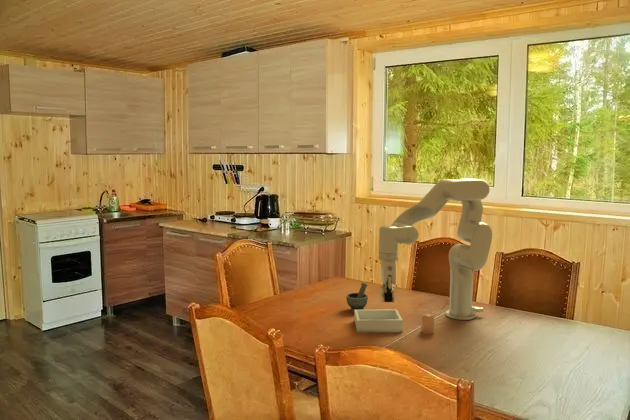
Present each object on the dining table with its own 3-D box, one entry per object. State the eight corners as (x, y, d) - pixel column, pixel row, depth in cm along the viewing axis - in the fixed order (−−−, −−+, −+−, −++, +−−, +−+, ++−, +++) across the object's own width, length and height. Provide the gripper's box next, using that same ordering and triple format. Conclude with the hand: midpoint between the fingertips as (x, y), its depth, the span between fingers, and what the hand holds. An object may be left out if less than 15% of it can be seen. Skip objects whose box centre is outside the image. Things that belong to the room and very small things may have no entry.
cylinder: (432, 330, 209) (432, 313, 208) (435, 334, 204) (435, 317, 203) (419, 330, 209) (420, 313, 208) (422, 334, 204) (422, 317, 203)
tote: (396, 320, 220) (396, 309, 219) (402, 332, 206) (402, 320, 205) (354, 321, 220) (354, 309, 219) (357, 332, 206) (357, 320, 205)
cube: (392, 298, 214) (392, 287, 214) (394, 302, 209) (394, 290, 209) (380, 298, 214) (380, 286, 213) (381, 302, 209) (382, 290, 209)
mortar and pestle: (357, 315, 228) (358, 288, 226) (342, 310, 234) (342, 284, 233) (374, 309, 235) (374, 283, 234) (358, 305, 242) (358, 280, 241)
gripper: (401, 260, 201) (399, 306, 203) (393, 252, 218) (392, 294, 220) (381, 260, 201) (380, 306, 203) (376, 252, 218) (375, 294, 220)
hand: (387, 299), depth 212 cm, fingers closed on cube, 4 cm apart
